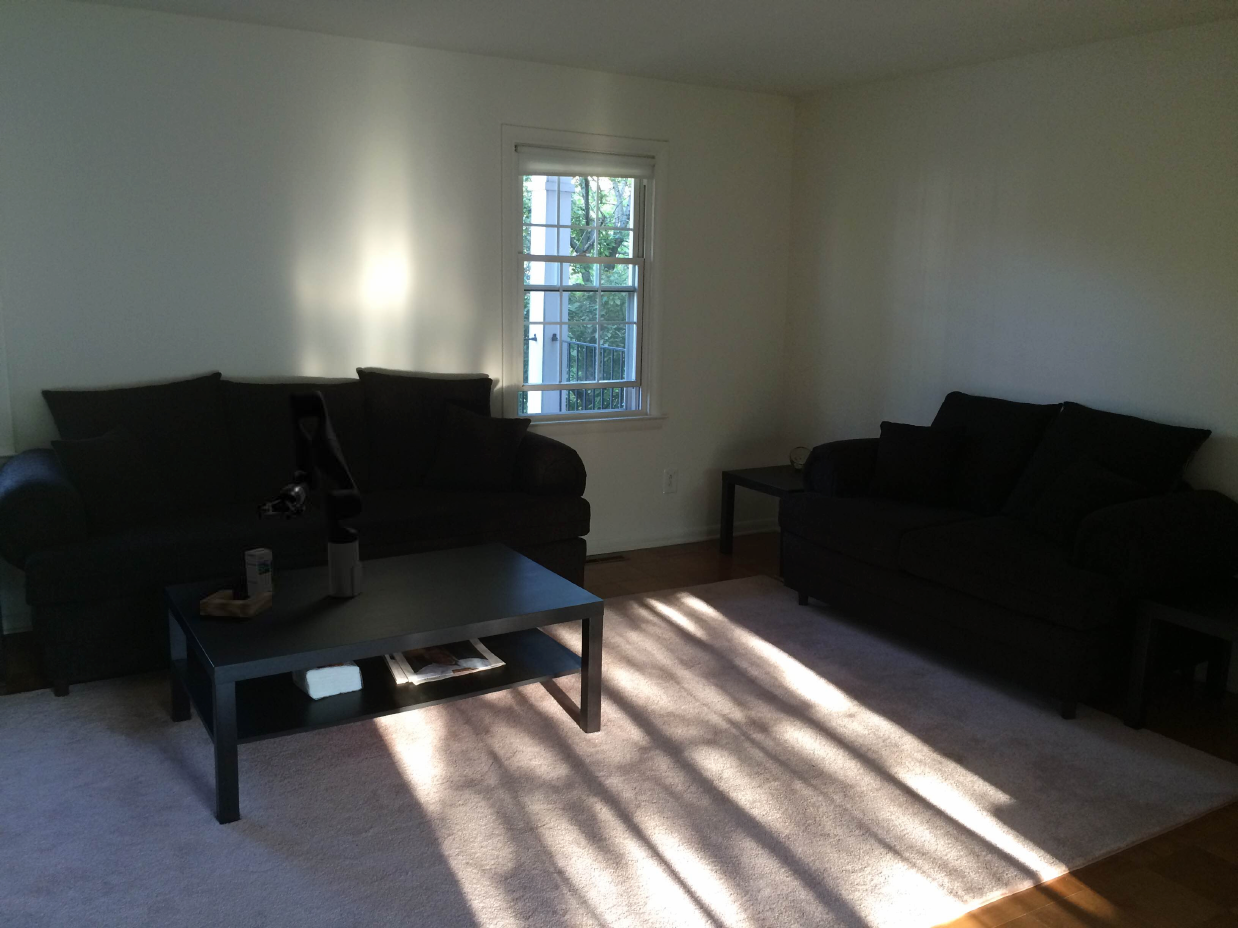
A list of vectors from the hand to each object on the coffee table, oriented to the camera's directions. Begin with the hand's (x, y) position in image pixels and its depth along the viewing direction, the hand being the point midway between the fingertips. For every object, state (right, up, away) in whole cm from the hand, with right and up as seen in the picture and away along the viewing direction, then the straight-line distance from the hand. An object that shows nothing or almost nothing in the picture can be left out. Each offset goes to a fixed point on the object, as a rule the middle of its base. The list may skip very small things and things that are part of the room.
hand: (273, 516), depth 312 cm
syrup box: (-2, -24, -5) cm, 25 cm away
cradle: (-4, -27, -19) cm, 33 cm away
